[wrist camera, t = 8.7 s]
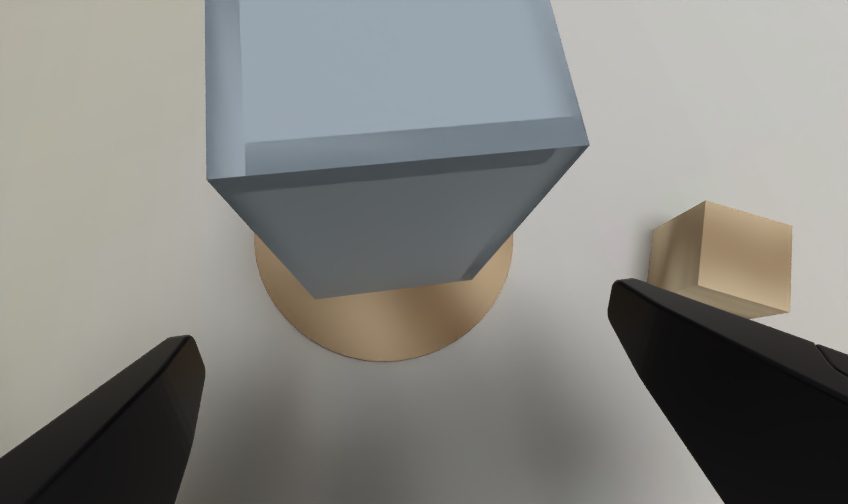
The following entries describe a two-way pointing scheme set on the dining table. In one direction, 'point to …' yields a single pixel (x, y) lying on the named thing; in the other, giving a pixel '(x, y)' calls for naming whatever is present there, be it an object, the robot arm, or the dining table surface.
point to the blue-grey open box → (386, 132)
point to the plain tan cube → (725, 260)
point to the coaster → (386, 310)
